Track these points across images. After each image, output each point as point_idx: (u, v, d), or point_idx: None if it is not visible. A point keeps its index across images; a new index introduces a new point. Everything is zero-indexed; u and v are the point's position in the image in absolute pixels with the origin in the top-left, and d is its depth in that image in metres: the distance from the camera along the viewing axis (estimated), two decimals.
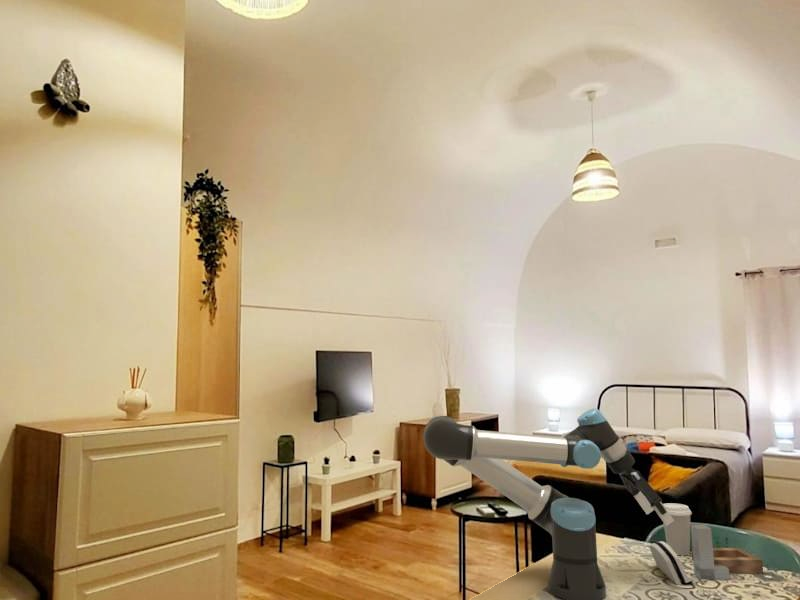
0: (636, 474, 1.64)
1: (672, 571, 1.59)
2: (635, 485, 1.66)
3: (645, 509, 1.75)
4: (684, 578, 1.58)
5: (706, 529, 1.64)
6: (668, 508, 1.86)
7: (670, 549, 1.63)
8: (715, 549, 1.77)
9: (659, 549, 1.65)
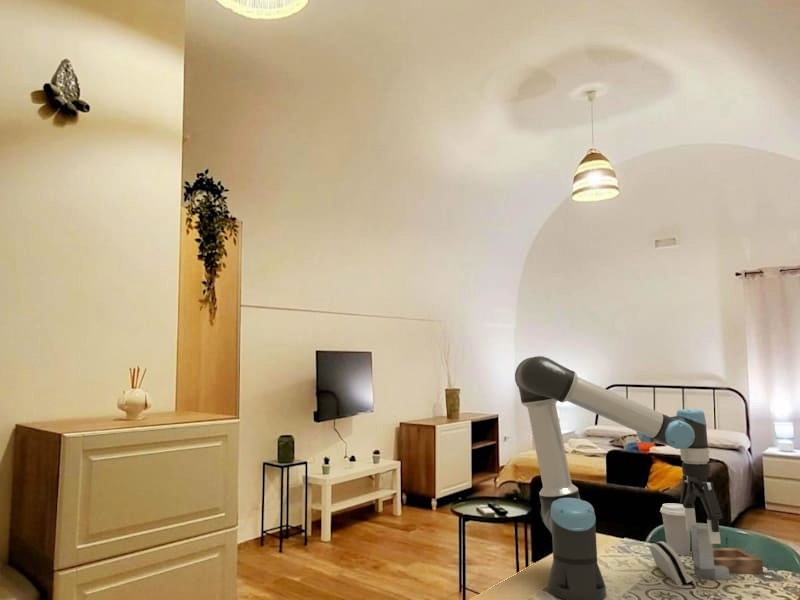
0: (709, 484, 1.61)
1: (673, 571, 1.59)
2: (700, 494, 1.63)
3: (688, 525, 1.72)
4: (685, 578, 1.58)
5: (706, 529, 1.64)
6: (668, 508, 1.86)
7: (671, 549, 1.63)
8: (715, 549, 1.77)
9: (659, 549, 1.65)
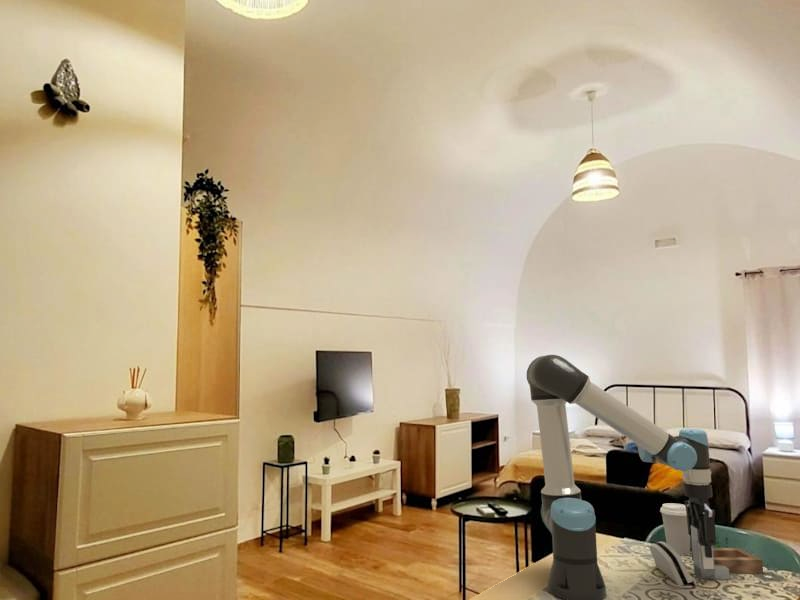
0: (711, 513, 1.60)
1: (674, 571, 1.58)
2: (699, 518, 1.64)
3: None
4: (686, 578, 1.58)
5: None
6: (668, 508, 1.86)
7: (671, 549, 1.63)
8: (715, 549, 1.77)
9: (660, 549, 1.65)
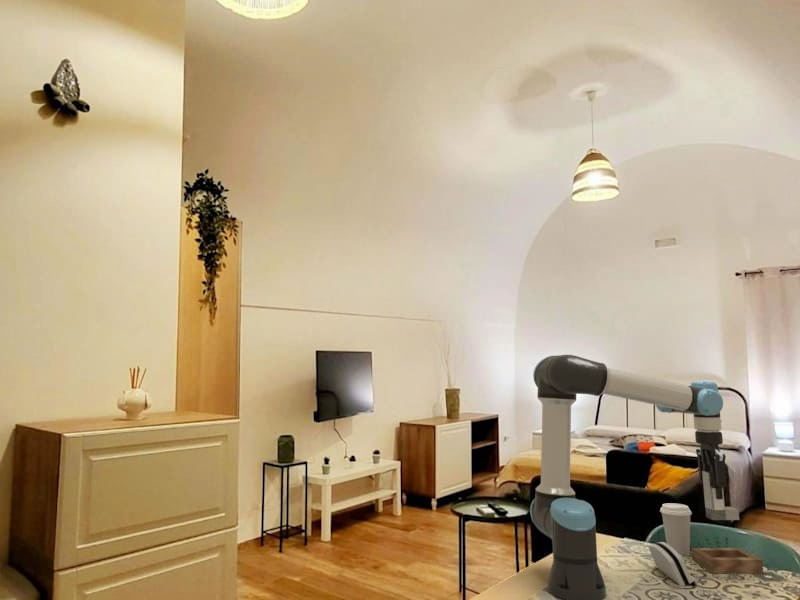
0: (721, 457, 1.70)
1: (676, 572, 1.58)
2: (710, 463, 1.74)
3: None
4: (687, 579, 1.57)
5: None
6: (668, 508, 1.86)
7: (672, 550, 1.62)
8: (715, 549, 1.77)
9: (661, 550, 1.64)
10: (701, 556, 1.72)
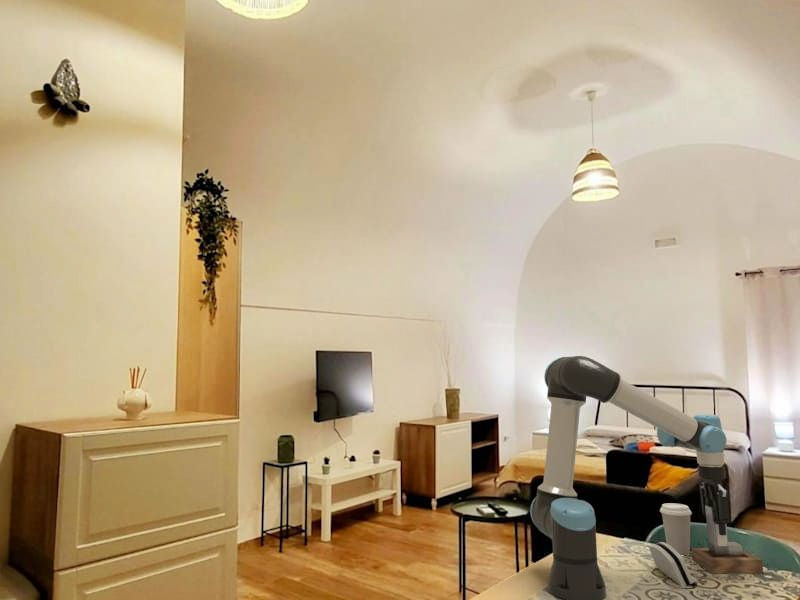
0: (724, 493, 1.69)
1: (677, 572, 1.58)
2: (713, 498, 1.73)
3: None
4: (688, 579, 1.57)
5: None
6: (668, 508, 1.86)
7: (673, 550, 1.62)
8: None
9: (662, 550, 1.64)
10: (701, 556, 1.72)
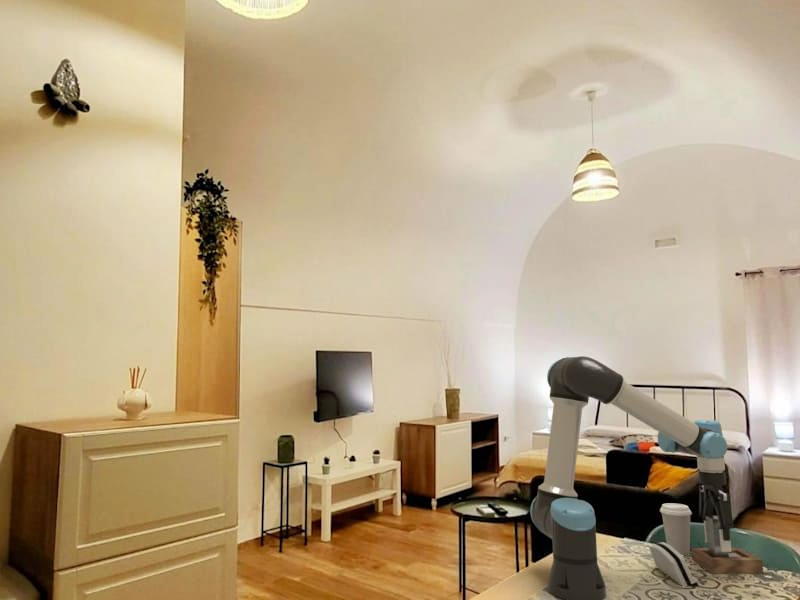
0: (725, 496, 1.69)
1: (678, 573, 1.58)
2: (715, 503, 1.72)
3: None
4: (690, 579, 1.57)
5: None
6: (668, 508, 1.86)
7: (674, 550, 1.62)
8: None
9: (663, 550, 1.64)
10: (701, 556, 1.72)
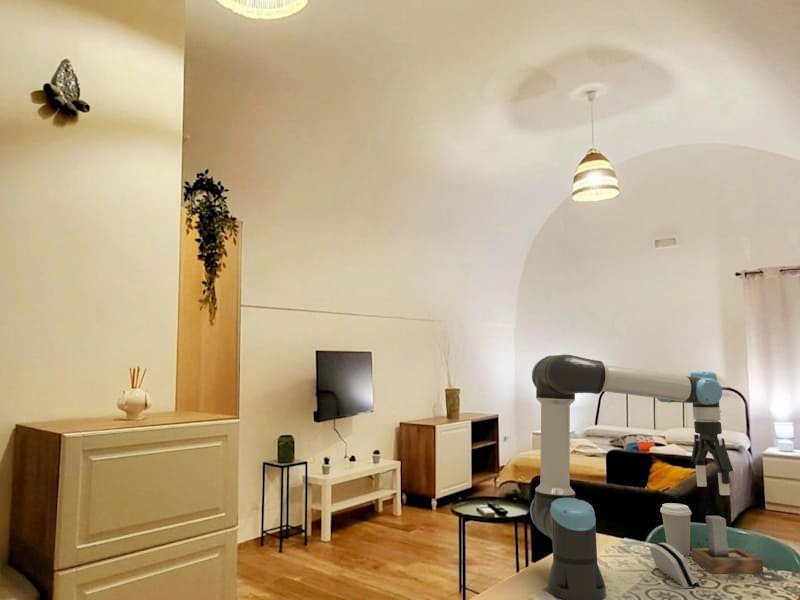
0: (720, 440, 1.71)
1: (679, 573, 1.57)
2: (711, 450, 1.73)
3: (699, 481, 1.82)
4: (691, 579, 1.57)
5: (721, 519, 1.72)
6: (668, 508, 1.86)
7: (675, 550, 1.62)
8: None
9: (663, 551, 1.63)
10: (701, 556, 1.72)
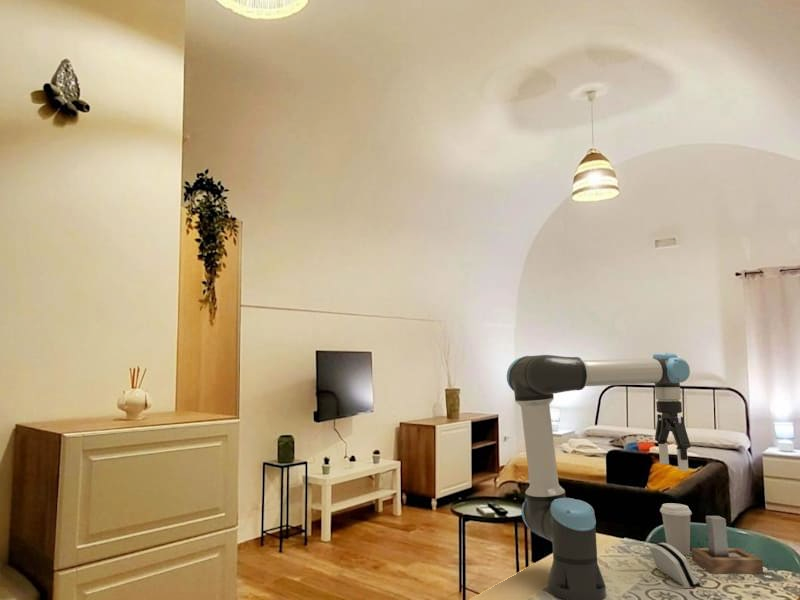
0: (679, 418, 1.78)
1: (680, 573, 1.57)
2: (671, 428, 1.80)
3: (662, 459, 1.89)
4: (692, 580, 1.57)
5: (721, 519, 1.72)
6: (668, 508, 1.86)
7: (676, 551, 1.61)
8: None
9: (664, 551, 1.63)
10: (701, 556, 1.72)
